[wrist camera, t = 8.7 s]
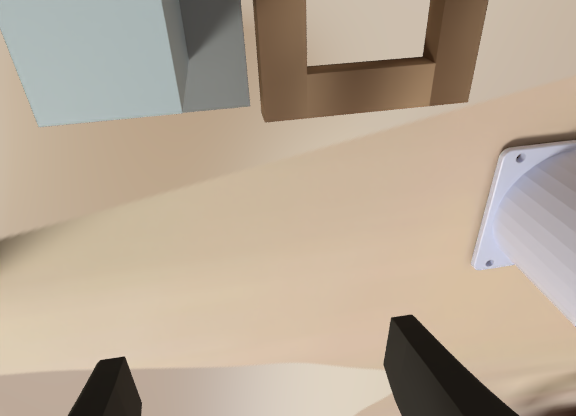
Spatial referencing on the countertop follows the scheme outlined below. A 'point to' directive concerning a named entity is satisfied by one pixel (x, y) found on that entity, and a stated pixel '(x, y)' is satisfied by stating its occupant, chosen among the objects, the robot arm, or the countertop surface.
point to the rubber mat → (214, 55)
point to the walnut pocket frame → (364, 65)
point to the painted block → (97, 57)
